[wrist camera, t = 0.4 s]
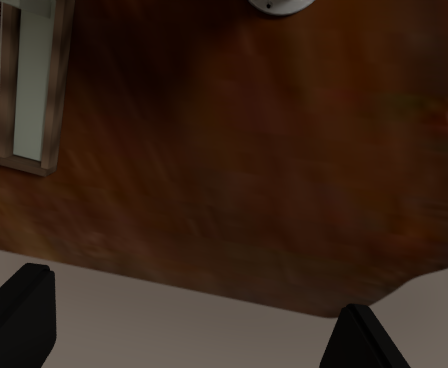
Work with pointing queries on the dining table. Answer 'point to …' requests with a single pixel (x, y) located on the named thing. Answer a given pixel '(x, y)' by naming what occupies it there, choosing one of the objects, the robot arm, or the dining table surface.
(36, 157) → the strip
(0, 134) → the lane frame
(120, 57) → the dining table surface
